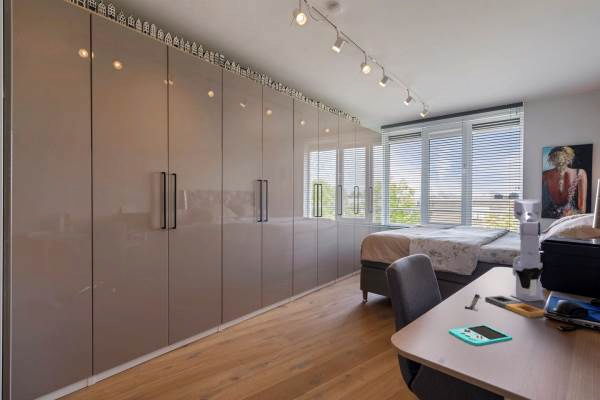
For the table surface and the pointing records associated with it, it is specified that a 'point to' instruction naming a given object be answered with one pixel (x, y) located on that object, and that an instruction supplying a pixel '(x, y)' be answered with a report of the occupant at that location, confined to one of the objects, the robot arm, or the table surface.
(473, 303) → the tactical tomahawk
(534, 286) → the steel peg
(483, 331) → the handheld game console
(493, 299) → the rail plate
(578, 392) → the table surface
